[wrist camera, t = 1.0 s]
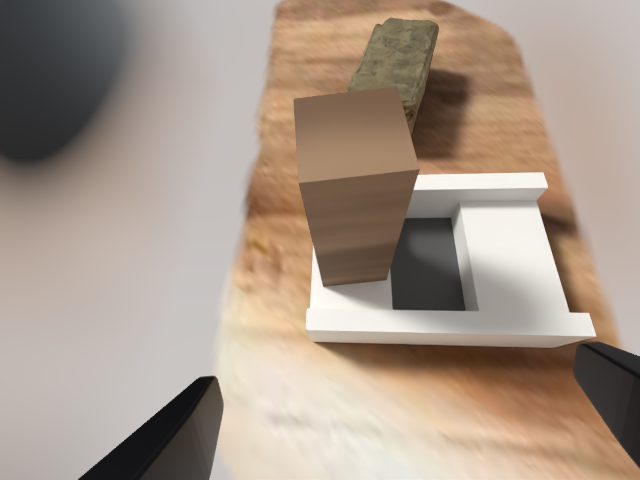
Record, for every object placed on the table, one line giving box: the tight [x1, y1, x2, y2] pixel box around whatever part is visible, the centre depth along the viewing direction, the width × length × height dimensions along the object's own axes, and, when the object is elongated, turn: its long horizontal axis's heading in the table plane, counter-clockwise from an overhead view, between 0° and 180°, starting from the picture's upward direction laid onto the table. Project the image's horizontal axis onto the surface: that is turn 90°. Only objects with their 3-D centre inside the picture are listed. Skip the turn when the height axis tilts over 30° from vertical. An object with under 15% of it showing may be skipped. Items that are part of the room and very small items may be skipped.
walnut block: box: [294, 86, 420, 287], centre depth 17 cm, size 4×4×11 cm
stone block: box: [347, 18, 439, 137], centre depth 29 cm, size 6×12×5 cm, turn 162°
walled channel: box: [306, 172, 596, 348], centre depth 22 cm, size 10×15×4 cm
